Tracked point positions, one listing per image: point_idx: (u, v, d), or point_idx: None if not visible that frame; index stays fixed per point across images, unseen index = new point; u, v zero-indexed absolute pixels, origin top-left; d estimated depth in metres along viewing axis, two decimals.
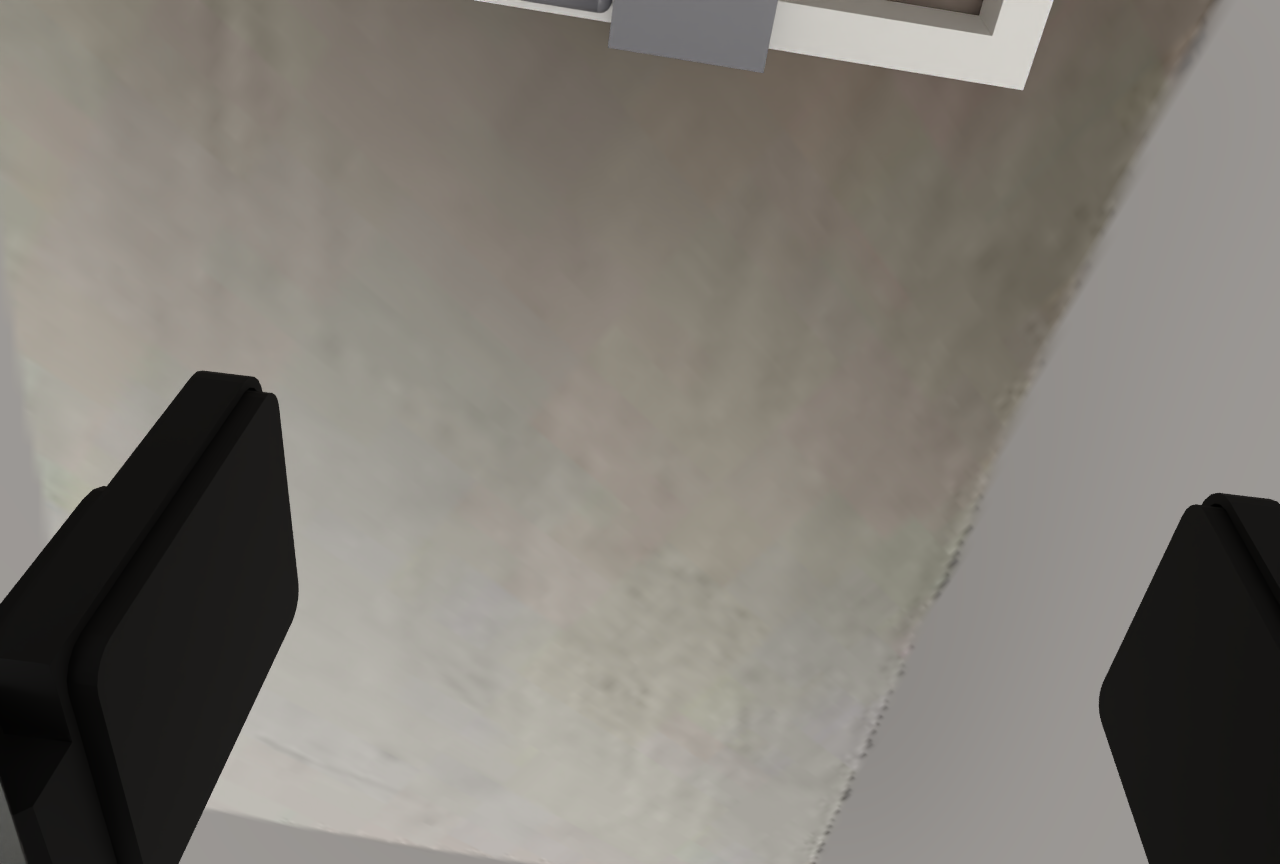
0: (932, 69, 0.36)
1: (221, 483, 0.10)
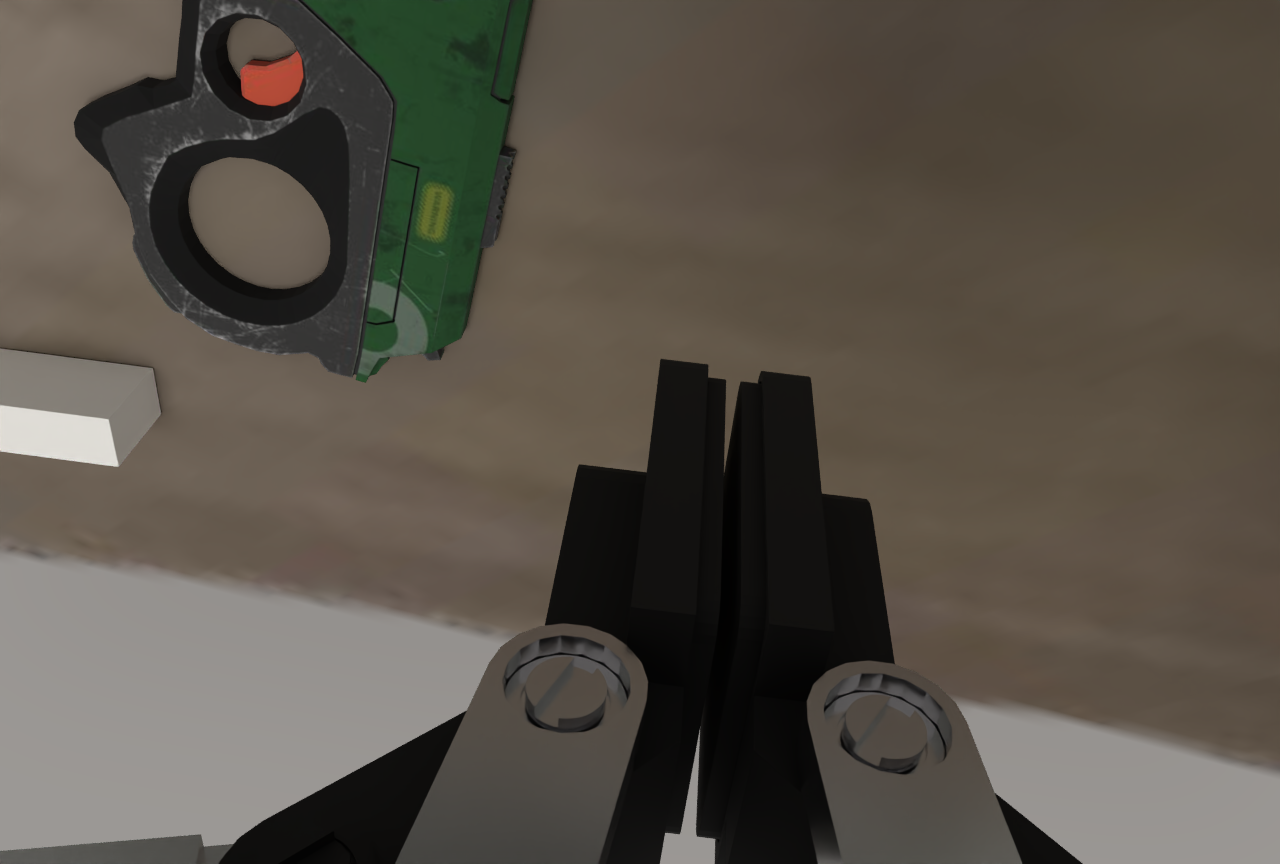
0: None
1: (721, 460, 0.11)
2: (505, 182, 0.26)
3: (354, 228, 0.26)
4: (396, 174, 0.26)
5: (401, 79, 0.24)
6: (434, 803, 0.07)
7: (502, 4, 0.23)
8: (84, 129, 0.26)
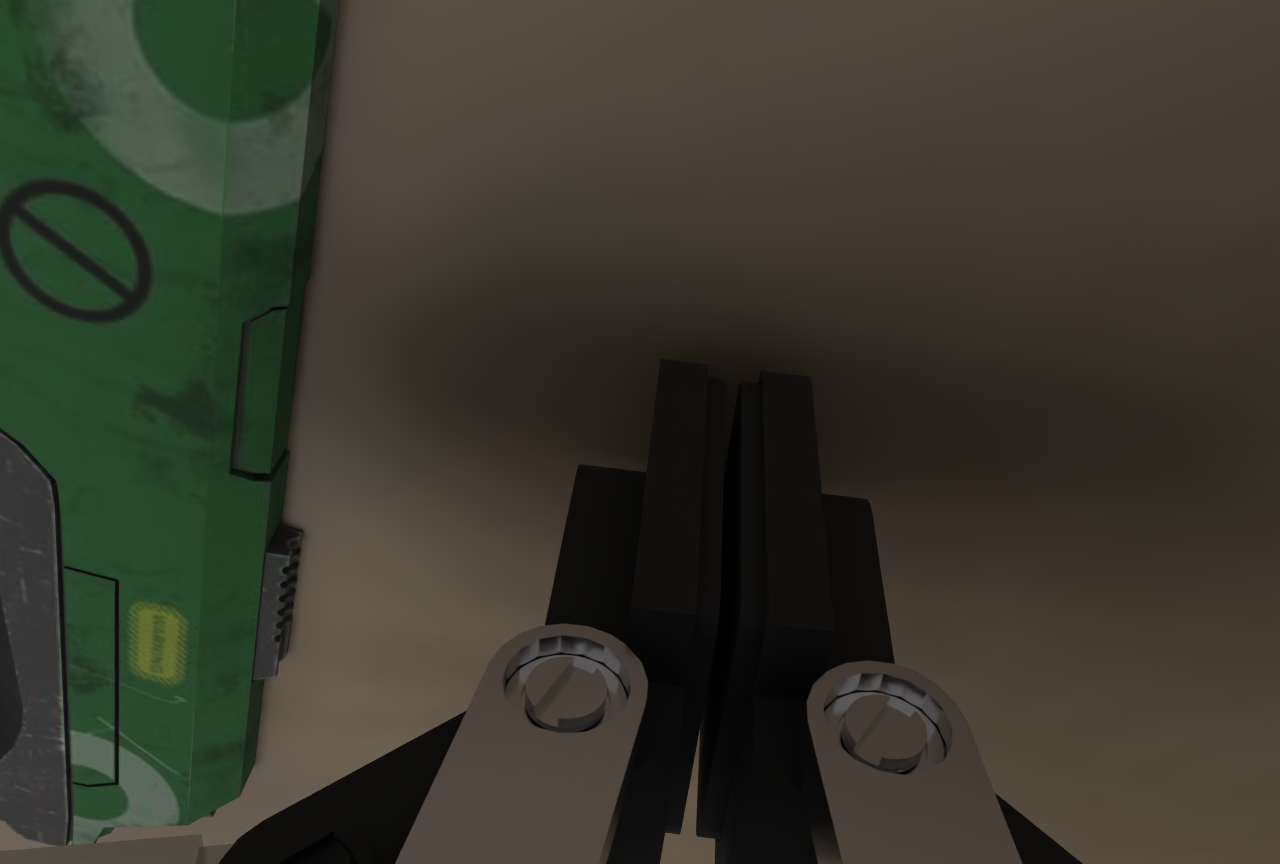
0: None
1: (722, 460, 0.11)
2: (283, 591, 0.14)
3: (22, 658, 0.15)
4: (78, 589, 0.14)
5: (57, 448, 0.13)
6: (434, 803, 0.07)
7: (226, 332, 0.12)
8: None
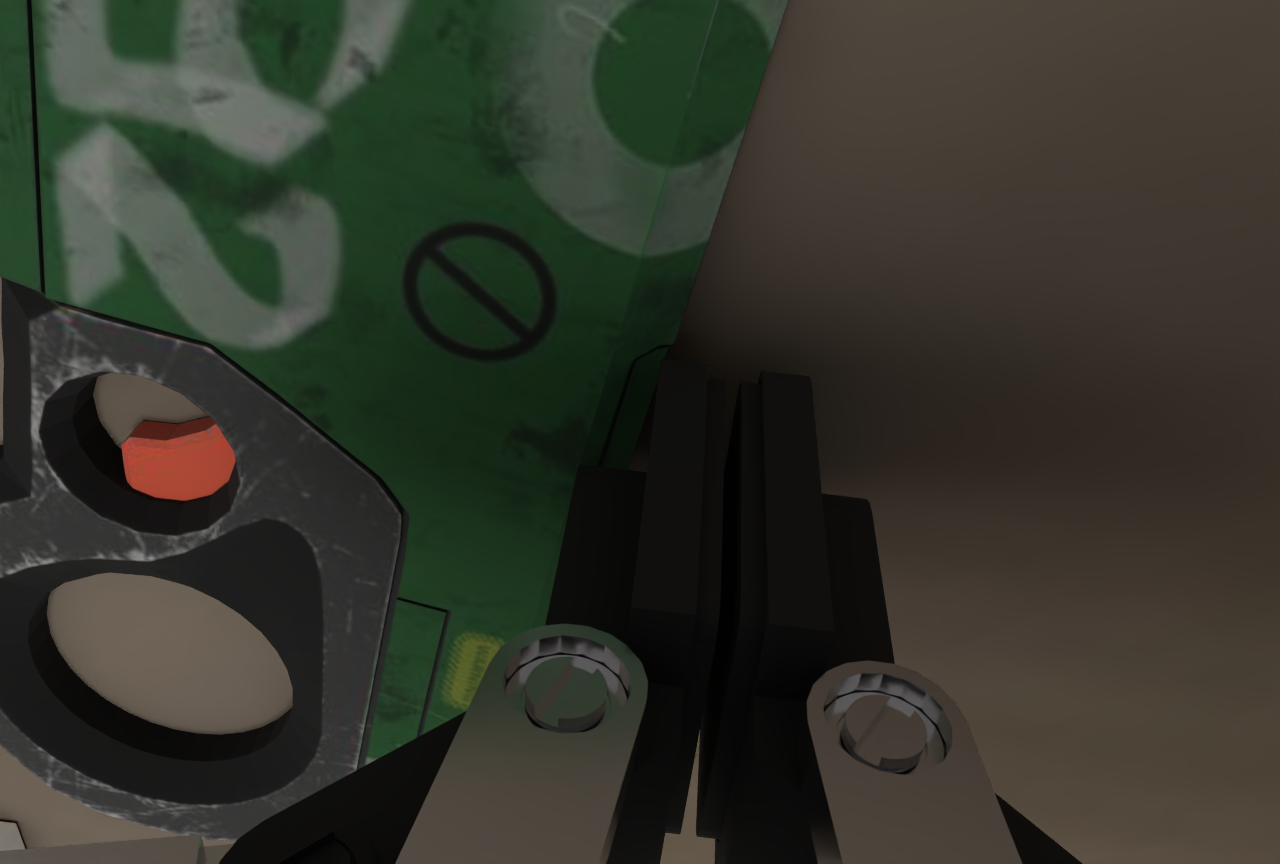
0: None
1: (722, 461, 0.11)
2: None
3: (333, 687, 0.15)
4: (407, 620, 0.14)
5: (417, 482, 0.13)
6: (435, 803, 0.07)
7: (617, 370, 0.12)
8: None
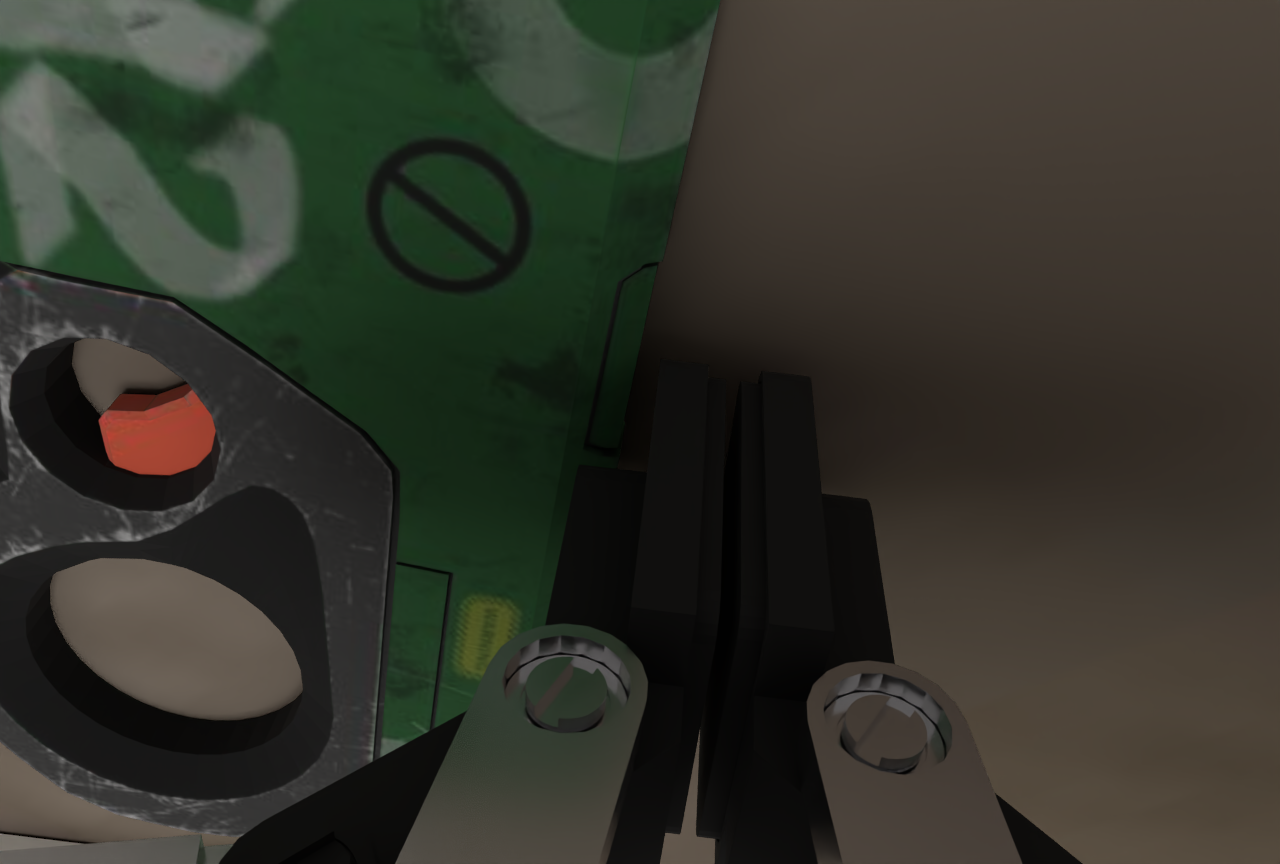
0: None
1: (722, 460, 0.11)
2: None
3: (339, 664, 0.14)
4: (409, 585, 0.13)
5: (404, 434, 0.12)
6: (434, 803, 0.07)
7: (603, 293, 0.11)
8: None
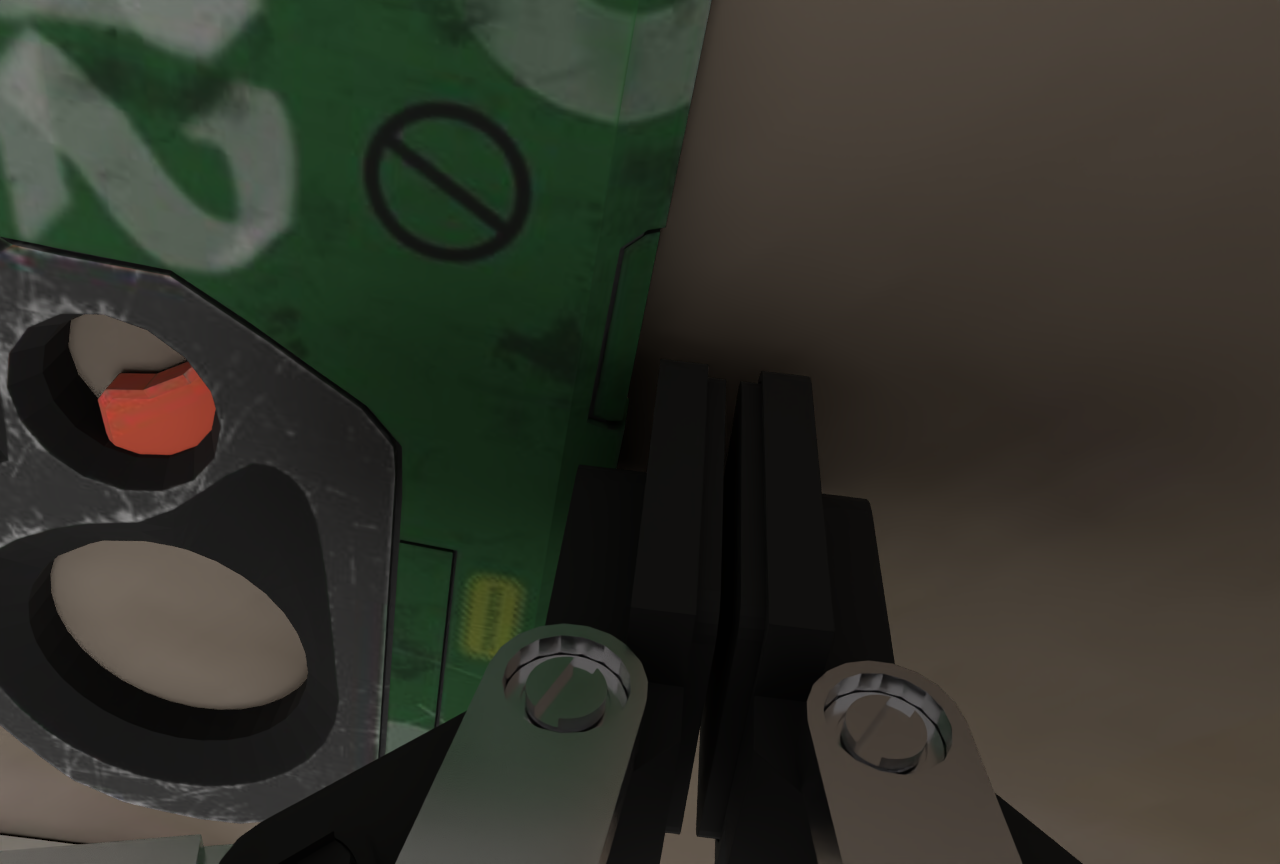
0: None
1: (721, 460, 0.11)
2: None
3: (344, 645, 0.14)
4: (413, 564, 0.13)
5: (406, 408, 0.12)
6: (434, 803, 0.07)
7: (605, 260, 0.11)
8: None
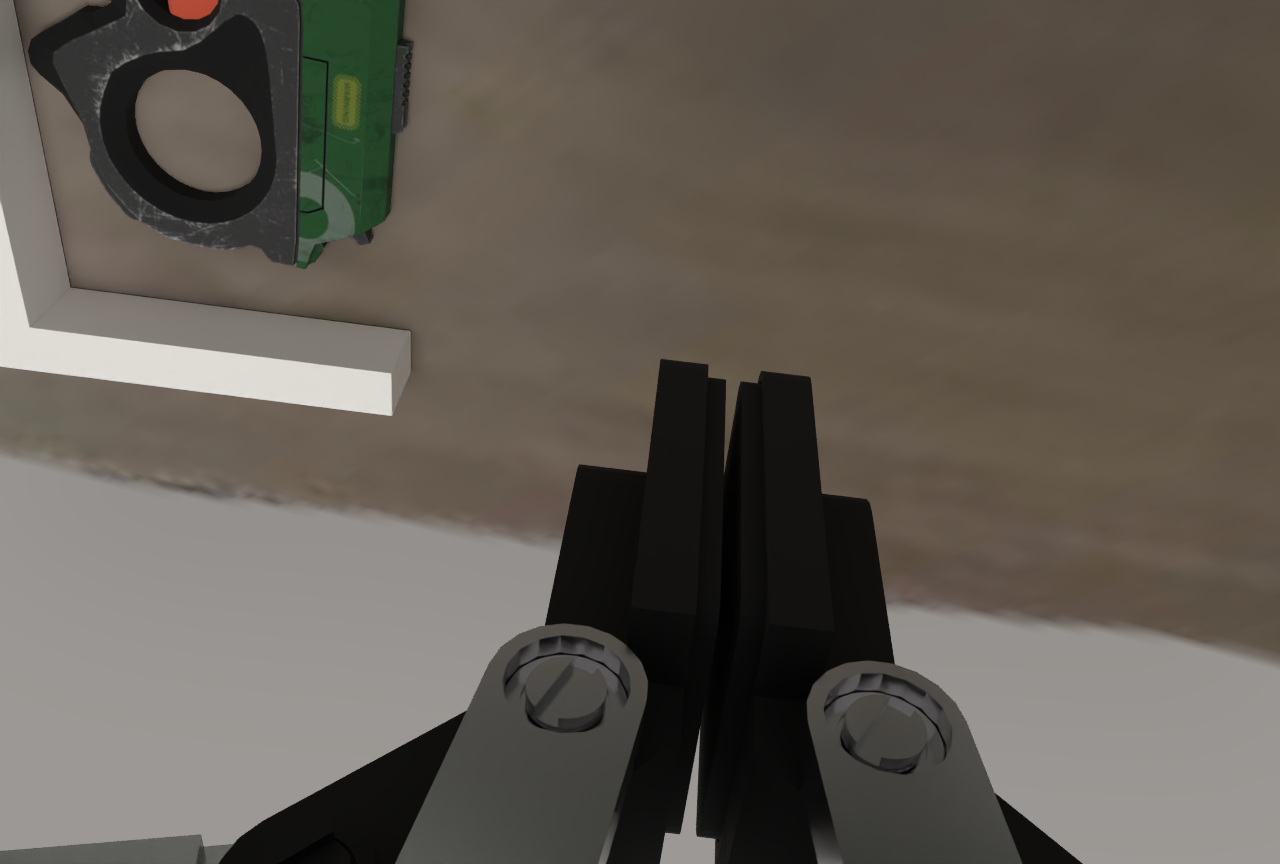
0: None
1: (722, 460, 0.11)
2: (405, 70, 0.30)
3: (278, 123, 0.30)
4: (309, 69, 0.29)
5: None
6: (434, 803, 0.07)
7: None
8: (37, 55, 0.30)
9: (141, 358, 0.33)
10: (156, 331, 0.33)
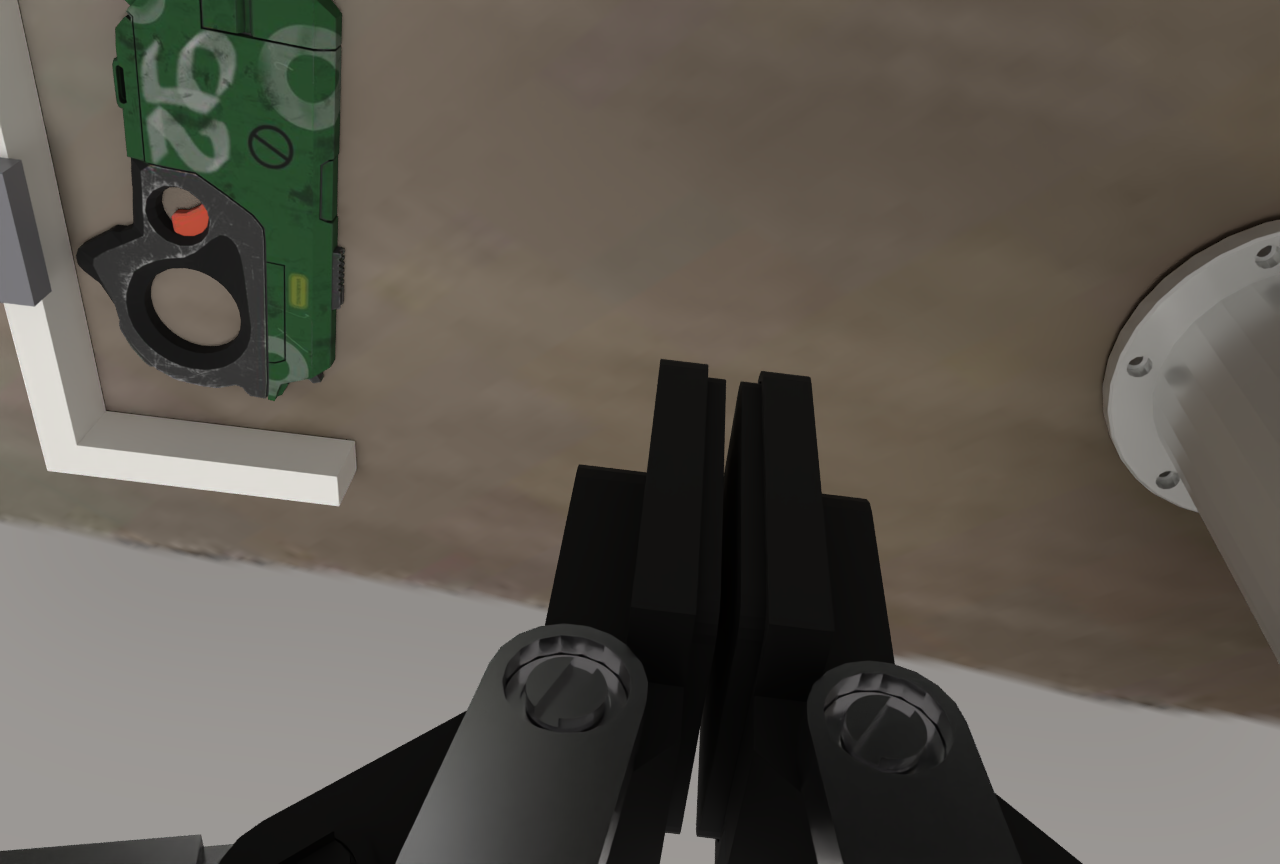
0: (35, 409, 0.44)
1: (722, 460, 0.11)
2: (339, 268, 0.42)
3: (251, 304, 0.42)
4: (271, 270, 0.41)
5: (265, 215, 0.40)
6: (434, 803, 0.07)
7: (315, 168, 0.39)
8: (82, 259, 0.42)
9: (157, 466, 0.45)
10: (168, 446, 0.45)
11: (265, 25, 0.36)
